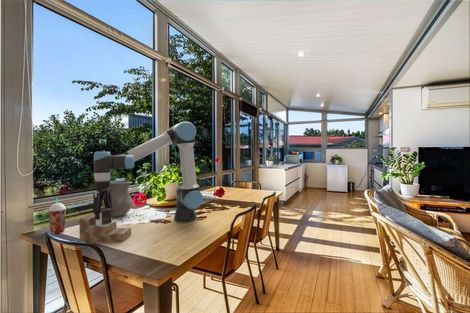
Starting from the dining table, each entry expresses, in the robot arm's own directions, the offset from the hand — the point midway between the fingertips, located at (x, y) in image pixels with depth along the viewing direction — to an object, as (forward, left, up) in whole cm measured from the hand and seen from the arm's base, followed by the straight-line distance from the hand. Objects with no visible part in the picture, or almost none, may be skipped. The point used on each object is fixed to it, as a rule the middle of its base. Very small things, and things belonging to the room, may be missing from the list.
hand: (103, 222), depth 126 cm
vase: (+13, -46, -9) cm, 49 cm away
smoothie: (+32, -12, -9) cm, 36 cm away
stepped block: (-2, 0, -9) cm, 9 cm away
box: (0, 0, 0) cm, 0 cm away
